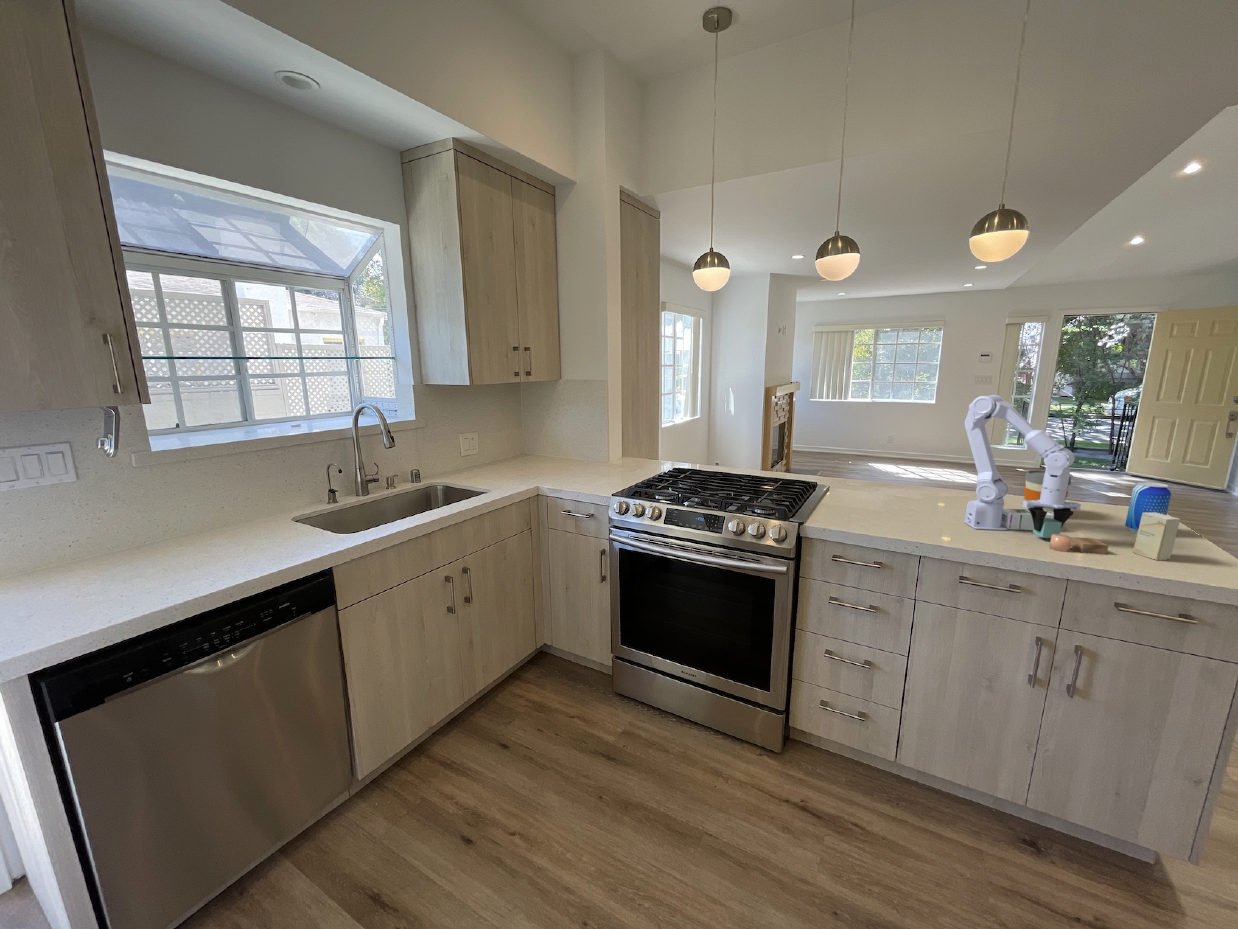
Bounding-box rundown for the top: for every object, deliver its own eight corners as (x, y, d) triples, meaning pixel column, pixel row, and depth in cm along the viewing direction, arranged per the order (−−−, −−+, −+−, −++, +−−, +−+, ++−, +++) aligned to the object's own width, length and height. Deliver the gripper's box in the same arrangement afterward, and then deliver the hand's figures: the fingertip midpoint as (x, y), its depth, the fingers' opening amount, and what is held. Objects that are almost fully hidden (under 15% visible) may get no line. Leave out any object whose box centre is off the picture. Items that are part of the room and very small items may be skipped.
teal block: (1042, 537, 150) (1045, 522, 149) (1032, 532, 155) (1035, 517, 154) (1058, 538, 150) (1061, 522, 149) (1049, 533, 154) (1051, 518, 153)
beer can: (1150, 529, 161) (1161, 482, 157) (1169, 537, 153) (1180, 488, 150) (1118, 526, 163) (1127, 480, 160) (1134, 534, 156) (1144, 486, 152)
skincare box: (1131, 552, 141) (1140, 512, 139) (1145, 551, 142) (1154, 511, 139) (1157, 561, 135) (1166, 519, 133) (1171, 560, 136) (1181, 518, 133)
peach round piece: (1055, 551, 143) (1058, 538, 142) (1045, 546, 147) (1047, 533, 146) (1073, 552, 142) (1075, 539, 141) (1062, 546, 146) (1064, 534, 145)
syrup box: (1059, 514, 158) (1008, 512, 161) (1056, 532, 159) (1006, 529, 162) (1047, 510, 163) (999, 507, 166) (1044, 526, 165) (996, 524, 167)
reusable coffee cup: (1065, 521, 169) (1072, 479, 166) (1018, 514, 177) (1025, 474, 174) (1064, 513, 178) (1071, 473, 175) (1020, 507, 186) (1026, 468, 183)
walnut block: (1081, 553, 142) (1083, 544, 141) (1068, 546, 147) (1069, 537, 147) (1106, 555, 140) (1108, 545, 140) (1091, 548, 146) (1093, 538, 145)
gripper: (1036, 490, 147) (1028, 533, 149) (1091, 492, 144) (1082, 536, 147) (1021, 485, 153) (1014, 526, 156) (1074, 486, 151) (1066, 528, 154)
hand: (1046, 530), depth 152 cm, fingers closed on teal block, 4 cm apart
